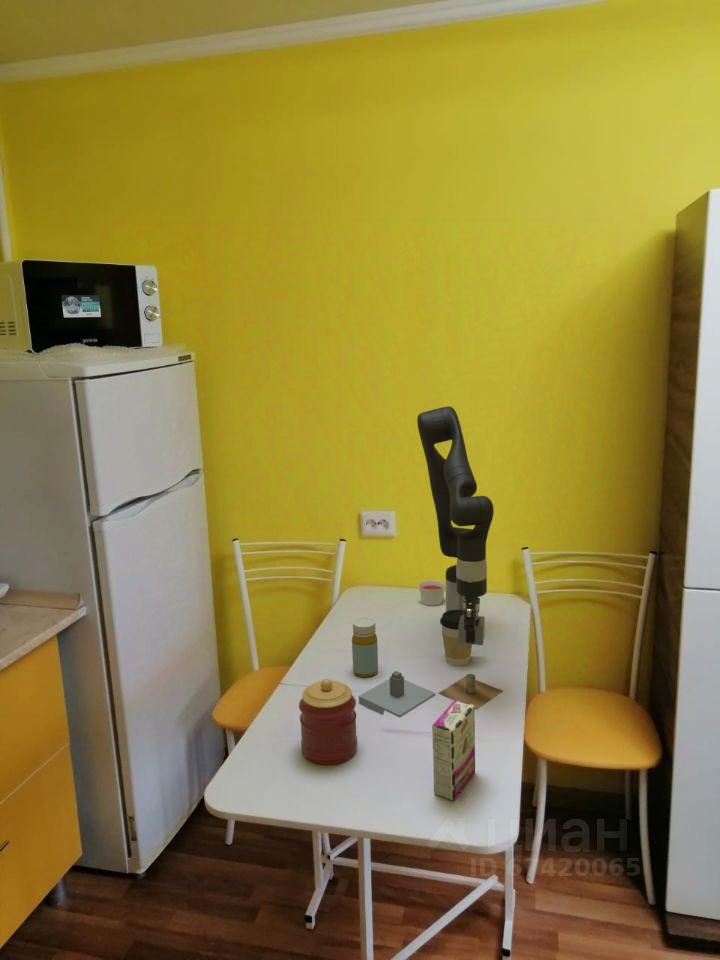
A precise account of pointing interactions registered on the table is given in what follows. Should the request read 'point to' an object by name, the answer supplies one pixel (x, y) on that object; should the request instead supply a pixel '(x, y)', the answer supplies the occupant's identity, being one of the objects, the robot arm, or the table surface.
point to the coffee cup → (454, 639)
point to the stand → (471, 691)
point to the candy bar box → (454, 749)
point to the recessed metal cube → (478, 631)
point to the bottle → (364, 648)
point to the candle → (432, 592)
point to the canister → (328, 722)
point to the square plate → (395, 696)
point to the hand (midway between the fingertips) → (471, 636)
